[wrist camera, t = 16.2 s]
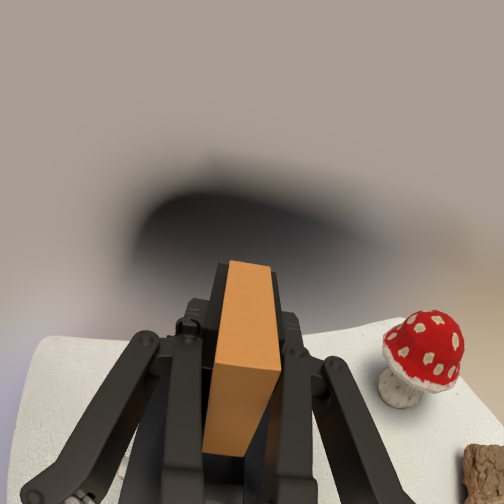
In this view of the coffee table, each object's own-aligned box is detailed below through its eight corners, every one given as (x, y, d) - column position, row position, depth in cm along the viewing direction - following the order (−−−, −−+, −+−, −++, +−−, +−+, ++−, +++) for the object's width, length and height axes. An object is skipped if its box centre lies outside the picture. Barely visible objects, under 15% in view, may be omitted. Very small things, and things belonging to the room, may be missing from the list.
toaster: (127, 518, 14) (100, 499, 10) (159, 389, 30) (155, 332, 26) (268, 537, 15) (304, 525, 11) (264, 404, 31) (285, 352, 27)
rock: (499, 520, 8) (525, 504, 6) (451, 530, 11) (479, 516, 9) (495, 455, 20) (516, 437, 18) (453, 454, 23) (475, 435, 21)
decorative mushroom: (372, 351, 44) (410, 279, 37) (434, 384, 37) (481, 315, 30) (343, 401, 33) (393, 318, 27) (420, 441, 26) (488, 368, 20)
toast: (201, 452, 13) (214, 362, 9) (214, 359, 20) (230, 259, 16) (243, 457, 13) (281, 370, 9) (245, 363, 20) (270, 266, 17)
